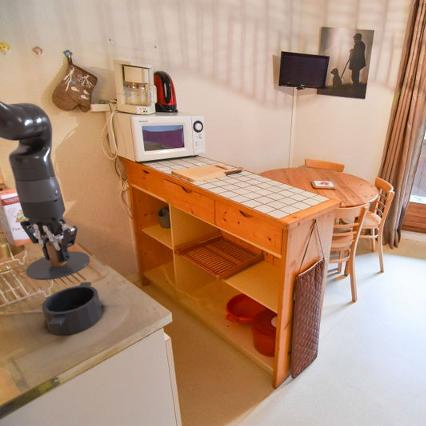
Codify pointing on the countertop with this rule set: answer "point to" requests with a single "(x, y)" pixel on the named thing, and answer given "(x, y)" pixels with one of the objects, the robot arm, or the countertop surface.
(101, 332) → the countertop surface
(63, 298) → the pot
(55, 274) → the lid
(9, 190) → the cracker box
